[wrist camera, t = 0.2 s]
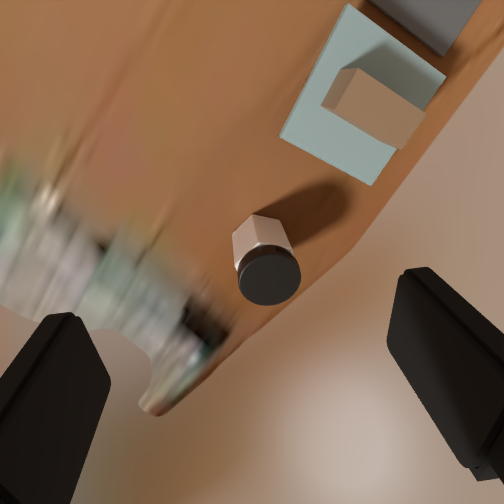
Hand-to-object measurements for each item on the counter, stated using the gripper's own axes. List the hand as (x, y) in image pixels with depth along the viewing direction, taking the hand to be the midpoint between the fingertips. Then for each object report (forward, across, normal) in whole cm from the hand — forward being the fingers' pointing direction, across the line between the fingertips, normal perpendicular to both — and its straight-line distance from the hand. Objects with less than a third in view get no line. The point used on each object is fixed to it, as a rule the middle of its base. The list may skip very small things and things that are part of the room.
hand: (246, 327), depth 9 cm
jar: (+36, -3, +16) cm, 40 cm away
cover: (+32, -16, -2) cm, 35 cm away
